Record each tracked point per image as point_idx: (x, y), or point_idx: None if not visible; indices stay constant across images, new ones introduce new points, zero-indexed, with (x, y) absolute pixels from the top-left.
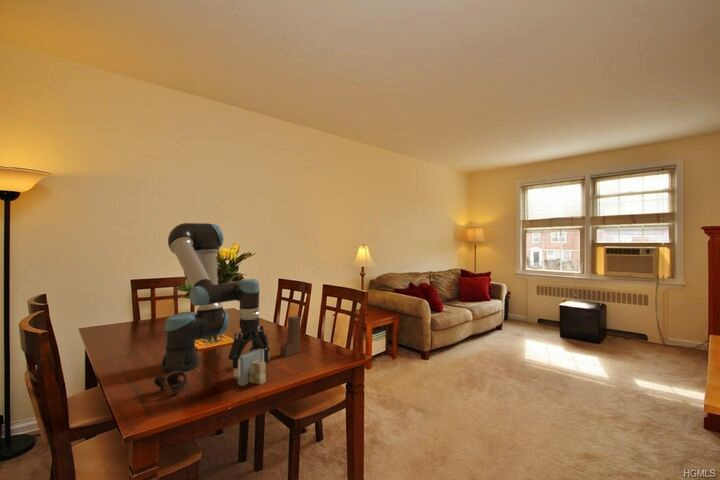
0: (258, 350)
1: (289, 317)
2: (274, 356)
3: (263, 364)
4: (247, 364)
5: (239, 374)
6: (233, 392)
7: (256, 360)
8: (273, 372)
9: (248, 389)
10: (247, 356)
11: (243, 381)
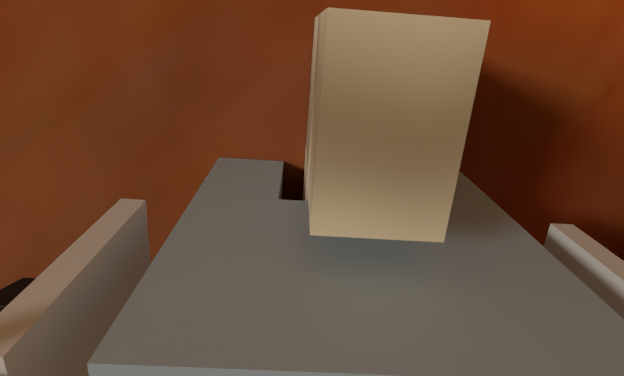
0: None
1: None
2: None
3: (388, 14)
4: (481, 270)
5: (582, 235)
6: (604, 162)
7: (315, 233)
8: (71, 94)
9: (522, 74)
10: (560, 372)
11: (474, 186)
